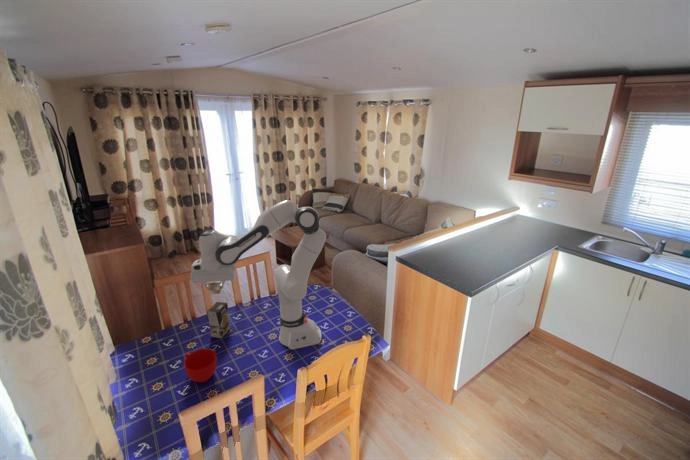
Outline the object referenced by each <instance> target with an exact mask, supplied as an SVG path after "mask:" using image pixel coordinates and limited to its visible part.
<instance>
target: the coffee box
mask: <svg viewBox="0 0 690 460" xmlns="http://www.w3.org/2000/svg"><path fill="white" fill-rule="evenodd" d="M207 316H208V317H207V318H208V323H209V324H208V325H209V329H210V330H209V331H210V336H211V337H212V338H218V339H222V338H223V337H224V336H225V335H226V333H228V331H229V330H230V329H231V323H230V313H229V306H228V302H221V301H216V302H215V303H214V304H213V305H212V306H210V308H209V309H208V310H207Z"/></svg>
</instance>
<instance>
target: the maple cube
mask: <svg viewBox="0 0 690 460" xmlns="http://www.w3.org/2000/svg"><path fill="white" fill-rule="evenodd" d="M207 284H208V289H207V290H208V294H209V295H217V294H218V295H220V294H221V291H222V289H223V288H220V284H222V281H212V282H208V283H207Z"/></svg>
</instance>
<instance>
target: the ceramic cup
mask: <svg viewBox="0 0 690 460" xmlns="http://www.w3.org/2000/svg"><path fill="white" fill-rule="evenodd" d="M184 357H185V359H184V362H183V365H184V366H183V367H184V370H185V373H186V375H187V376H188V377H189V379H191V381H194V382H196V383H206V382H207V381H208V380H209V379H210V378H211V377H212V376H213V375H214V373H215V372H216V370H217V363H218V361H217V354H216V352H215V350H213V349H209V348H202V349H198V350H195V351H193V352H191V353H190V352H187V353H185V355H184Z"/></svg>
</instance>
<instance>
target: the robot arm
mask: <svg viewBox="0 0 690 460" xmlns="http://www.w3.org/2000/svg"><path fill="white" fill-rule="evenodd" d="M319 216H320V215H319V213H318V211H317V210H316V209H315V208H314V207H312V206H297V205H296V203H295V202H293V201H292V200H290V199H285V200H282V201H280V202H278V203H275V204H274V205H271V206H270V207H268V208H267V209H265V210H264V211H263V212H262V213H260V214H259V215H258V216H257V218H256V222H255V223H254V225H253V227H252V228H251V230H249V231H248V232H247V233H245V234H244V235H242V236H241V237H240V238H238V237H237V236H235V235H233V234H225V233H221V232H219V231H217V230H216V229H209V230H206V231H204V232H202V233H201V234H200V235H199V238H198V246H199V252H200V254H201V255H200V256H201V257H200V258H199V259H197V260H196V259H195V260H194V261H193V263H192V264H191V271H190V281H191V283H202V284H203V286H204V287H205V290H208V284H209V282H212V281H221V284H220V288H222V289H224V287H225V286H224V285H225V282H227V281H229V282H230V281H234V280H235V279H236V271H235V270H236V265H235V264H236V263H237V262H238V261H239V259H240V258H241V257H242V256H243V254H245V253H246V252H247V251H249V250H250V249H251V248H253V247H255V246H256V245H257V244H259V243H260V242H262V241H263V240H264V239H266V238H267V237H269V236H270V235H272V234H273V233H275V232H277V231H278V230H280V229H282V228H283V227H285V226H286V225H288V224H290V223H296V225H297V226H298V228H299V229H300V230H301V231H302V233H303V236H302V238H301V240H300V241H299V243H298V245H297V247H295V248H296V249H295V250H294V252H293V254H292V256H291V262H290V263H291V264H290V265H288V264H280V265H278V267H276V268H275V270H274V279H275V285H276V290H277V291H276V292H277V297H278V301H279V312H280V315H279V325H280V330H279V337H278V341H279V343H280V344H281V345H283V346H286V347H288V348H289V350H297V349H302V348H306V347H310V346H311V347H312V346H314V345H315V346H316V345H318V344H320V343H321V341H322V337H323V335H322V331H321V328H320V327H319V326H318V325H317V324H316V322H315V321H314V320H313V319H310V318H308V317H307V314H306V311H304V312H303V299H304V298H305V297H306V295H307V292H308V281H309V277H310V274H311V270H312V268H313V266H314V263H316V261H317V259H318V257H319V255H320V253H321V252H322V249H323V248H324V246H325V243H326V240H327V233H326V232H325V230H323V229H322V228H321V227H320V224H319V223H320V217H319Z"/></svg>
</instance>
